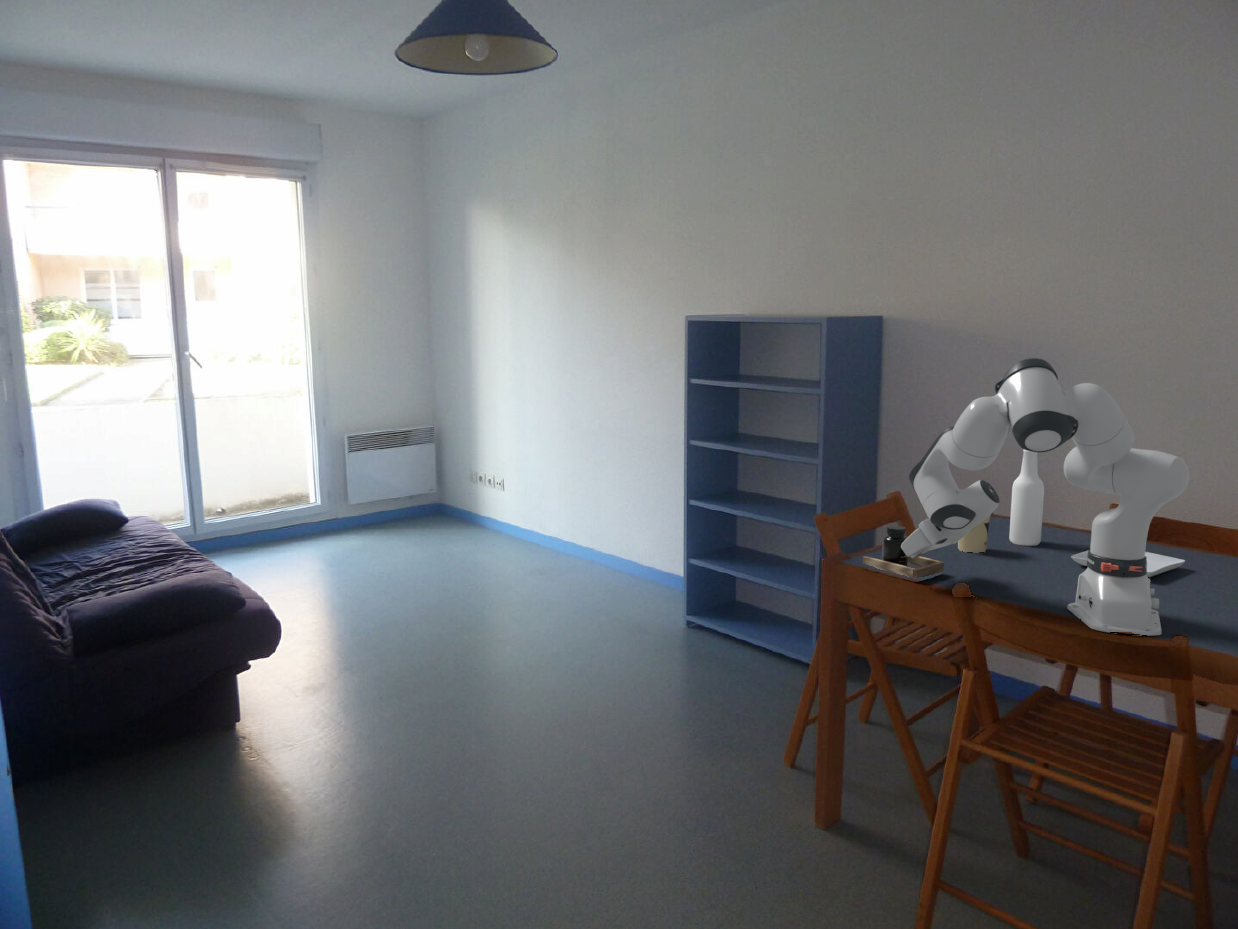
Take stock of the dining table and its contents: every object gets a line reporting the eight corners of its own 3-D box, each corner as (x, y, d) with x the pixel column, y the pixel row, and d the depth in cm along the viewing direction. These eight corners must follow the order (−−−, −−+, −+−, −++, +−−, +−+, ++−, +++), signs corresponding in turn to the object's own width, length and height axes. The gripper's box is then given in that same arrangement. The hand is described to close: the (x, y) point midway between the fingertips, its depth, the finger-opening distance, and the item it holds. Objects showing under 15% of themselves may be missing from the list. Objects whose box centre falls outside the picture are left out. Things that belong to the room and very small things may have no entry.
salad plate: (1105, 554, 254) (1106, 543, 253) (1186, 571, 237) (1187, 558, 236) (1068, 567, 242) (1068, 555, 241) (1149, 585, 225) (1151, 572, 224)
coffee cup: (992, 554, 254) (994, 514, 252) (958, 553, 256) (960, 513, 254) (984, 546, 263) (986, 507, 261) (951, 545, 265) (953, 507, 263)
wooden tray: (943, 574, 235) (944, 562, 235) (916, 583, 228) (916, 570, 227) (889, 561, 249) (890, 549, 248) (862, 569, 241) (862, 556, 241)
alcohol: (1003, 539, 271) (1009, 444, 266) (1031, 538, 271) (1037, 443, 266) (1017, 546, 262) (1024, 448, 257) (1046, 546, 263) (1053, 447, 258)
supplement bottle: (907, 574, 236) (909, 531, 234) (881, 572, 238) (882, 529, 236) (907, 567, 242) (909, 525, 240) (882, 565, 245) (883, 524, 243)
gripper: (962, 511, 233) (928, 539, 242) (917, 522, 221) (883, 552, 230) (977, 530, 230) (942, 558, 239) (932, 542, 218) (897, 572, 227)
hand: (913, 555), depth 235 cm, fingers closed
